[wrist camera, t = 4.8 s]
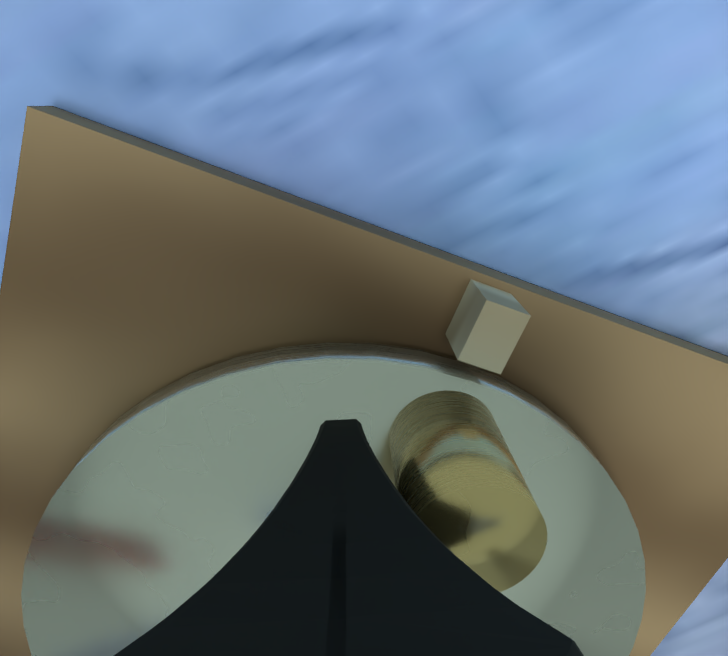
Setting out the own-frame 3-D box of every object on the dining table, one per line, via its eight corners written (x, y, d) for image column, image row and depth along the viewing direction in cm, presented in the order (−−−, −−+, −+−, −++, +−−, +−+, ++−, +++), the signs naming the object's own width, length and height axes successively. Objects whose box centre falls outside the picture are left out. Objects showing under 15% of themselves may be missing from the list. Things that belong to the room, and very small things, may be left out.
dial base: (493, 811, 22) (511, 893, 19) (-46, 715, 18) (-99, 799, 16) (815, 388, 15) (898, 439, 13) (52, 106, 11) (-17, 107, 9)
